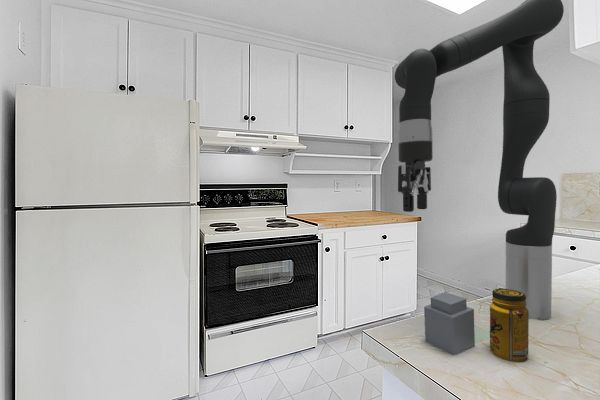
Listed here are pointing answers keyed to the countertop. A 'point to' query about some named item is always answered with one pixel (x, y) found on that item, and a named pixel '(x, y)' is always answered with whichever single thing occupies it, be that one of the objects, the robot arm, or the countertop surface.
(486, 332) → the mat
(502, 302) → the condiment
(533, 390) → the countertop surface
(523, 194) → the robot arm
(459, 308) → the grey stepped block
